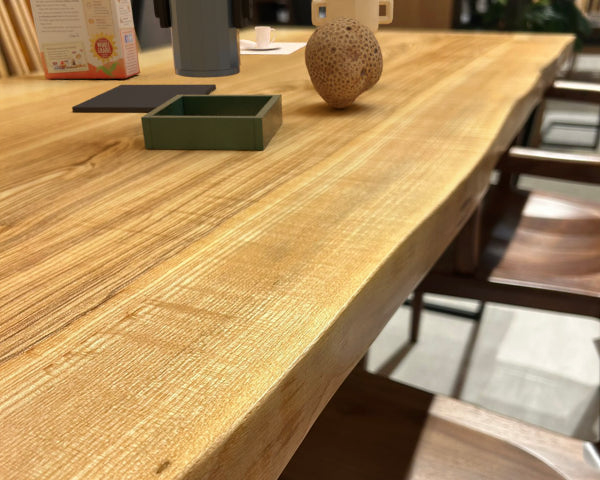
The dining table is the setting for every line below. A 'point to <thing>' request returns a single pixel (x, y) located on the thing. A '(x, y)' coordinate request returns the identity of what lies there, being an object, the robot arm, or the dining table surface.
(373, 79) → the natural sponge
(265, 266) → the dining table surface
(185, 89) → the rubber mat
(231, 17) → the cup
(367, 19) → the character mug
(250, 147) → the square tray
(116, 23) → the cracker box
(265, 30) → the teacup and saucer
